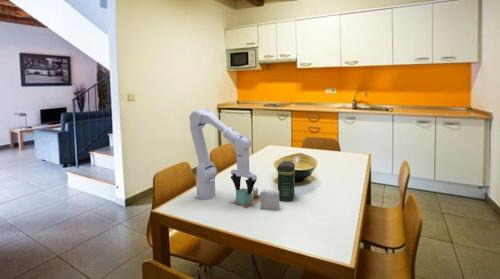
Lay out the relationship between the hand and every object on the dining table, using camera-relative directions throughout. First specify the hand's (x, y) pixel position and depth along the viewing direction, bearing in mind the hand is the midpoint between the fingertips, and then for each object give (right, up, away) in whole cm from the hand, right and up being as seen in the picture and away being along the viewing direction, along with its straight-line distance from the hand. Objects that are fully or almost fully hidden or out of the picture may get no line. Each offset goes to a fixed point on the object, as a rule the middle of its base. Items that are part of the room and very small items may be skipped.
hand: (243, 191), depth 140 cm
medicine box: (+12, -7, -5) cm, 15 cm away
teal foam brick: (0, -5, +1) cm, 5 cm away
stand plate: (+3, -6, +4) cm, 7 cm away
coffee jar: (+21, -5, +6) cm, 22 cm away
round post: (+6, -4, +7) cm, 10 cm away
